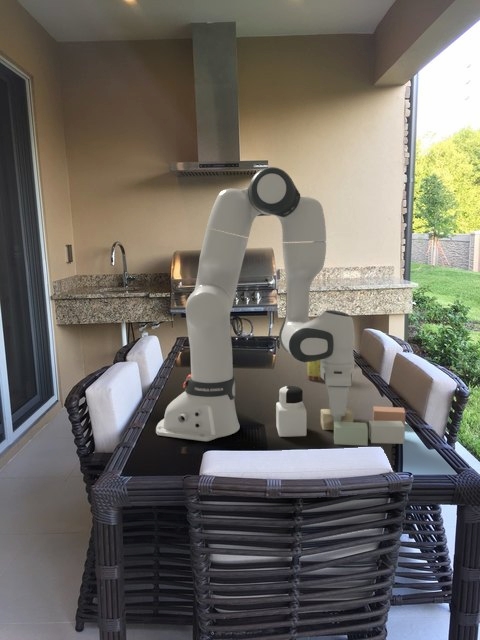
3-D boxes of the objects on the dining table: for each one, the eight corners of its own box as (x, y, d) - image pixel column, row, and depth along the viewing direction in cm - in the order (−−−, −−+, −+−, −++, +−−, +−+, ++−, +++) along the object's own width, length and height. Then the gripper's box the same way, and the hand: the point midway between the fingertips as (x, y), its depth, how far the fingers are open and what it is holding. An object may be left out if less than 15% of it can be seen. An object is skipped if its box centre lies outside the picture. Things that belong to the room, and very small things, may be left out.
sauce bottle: (324, 382, 178) (324, 327, 175) (306, 381, 179) (306, 327, 176) (324, 377, 184) (325, 324, 181) (307, 376, 185) (307, 324, 182)
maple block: (323, 430, 133) (323, 414, 132) (320, 424, 136) (320, 409, 136) (353, 429, 133) (353, 413, 132) (349, 424, 137) (349, 408, 136)
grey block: (371, 443, 123) (371, 426, 123) (368, 437, 127) (369, 420, 127) (404, 444, 122) (404, 426, 122) (400, 437, 126) (401, 421, 126)
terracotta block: (373, 427, 134) (374, 411, 133) (372, 421, 138) (373, 406, 137) (404, 428, 133) (405, 412, 132) (403, 423, 136) (403, 407, 136)
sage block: (334, 444, 123) (334, 427, 122) (333, 438, 127) (334, 421, 126) (367, 446, 122) (367, 428, 121) (366, 439, 126) (366, 422, 125)
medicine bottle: (302, 426, 135) (302, 383, 133) (306, 436, 128) (306, 391, 126) (276, 427, 135) (275, 384, 133) (279, 437, 128) (278, 392, 126)
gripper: (324, 361, 143) (324, 407, 145) (325, 381, 123) (325, 434, 125) (347, 362, 142) (346, 408, 144) (351, 381, 122) (350, 435, 124)
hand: (336, 420), depth 134 cm, fingers open, 6 cm apart
